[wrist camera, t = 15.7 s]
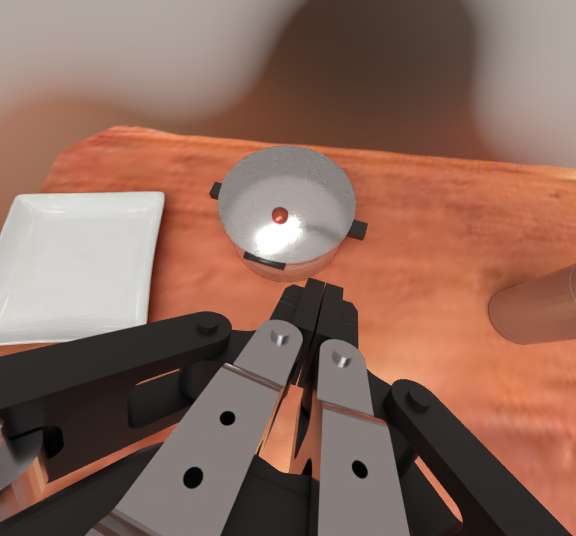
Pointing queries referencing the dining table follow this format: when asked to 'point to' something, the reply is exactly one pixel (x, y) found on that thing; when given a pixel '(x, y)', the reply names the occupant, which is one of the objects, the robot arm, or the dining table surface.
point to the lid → (286, 206)
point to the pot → (294, 271)
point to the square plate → (76, 264)
